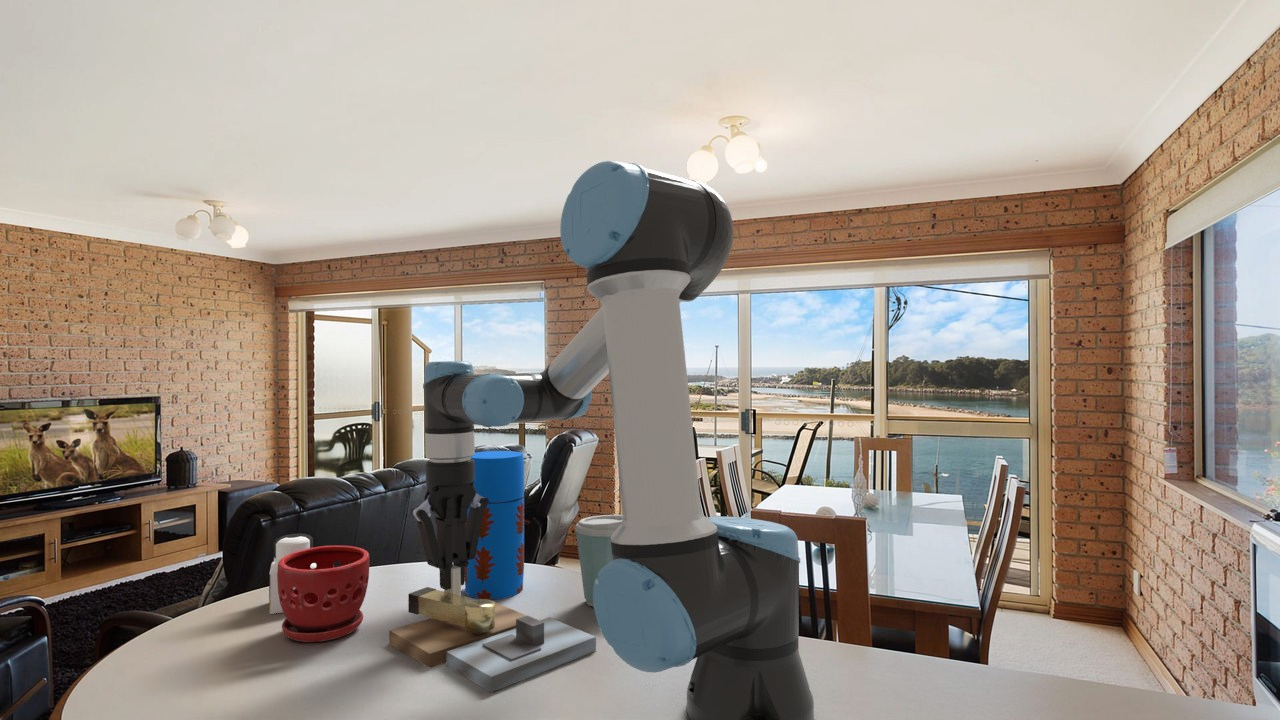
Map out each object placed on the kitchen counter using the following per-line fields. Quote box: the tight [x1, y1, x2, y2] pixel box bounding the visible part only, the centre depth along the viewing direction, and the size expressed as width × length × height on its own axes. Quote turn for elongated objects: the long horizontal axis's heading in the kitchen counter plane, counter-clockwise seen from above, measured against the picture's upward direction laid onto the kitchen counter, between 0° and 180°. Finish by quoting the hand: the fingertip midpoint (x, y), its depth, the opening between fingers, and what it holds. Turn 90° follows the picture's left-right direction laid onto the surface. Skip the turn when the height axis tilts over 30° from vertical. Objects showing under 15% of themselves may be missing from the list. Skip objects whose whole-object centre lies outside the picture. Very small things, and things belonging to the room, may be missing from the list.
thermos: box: [464, 450, 525, 600], centre depth 129 cm, size 11×11×25 cm
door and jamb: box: [388, 601, 597, 693], centre depth 103 cm, size 24×20×5 cm
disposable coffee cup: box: [574, 514, 623, 608], centre depth 122 cm, size 11×11×15 cm
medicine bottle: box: [268, 533, 317, 615], centre depth 121 cm, size 7×7×12 cm
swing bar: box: [407, 586, 496, 633], centre depth 106 cm, size 15×4×3 cm, turn 59°
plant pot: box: [277, 545, 370, 643], centre depth 109 cm, size 13×13×12 cm
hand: (452, 607), depth 110 cm, fingers closed
